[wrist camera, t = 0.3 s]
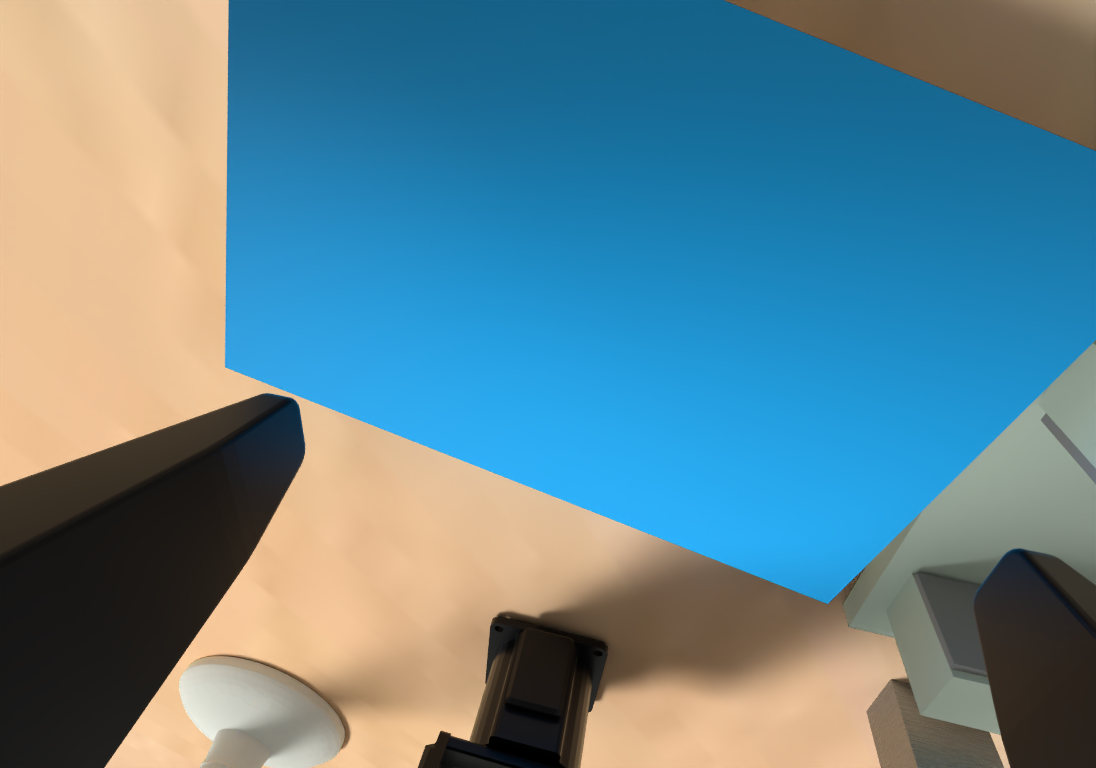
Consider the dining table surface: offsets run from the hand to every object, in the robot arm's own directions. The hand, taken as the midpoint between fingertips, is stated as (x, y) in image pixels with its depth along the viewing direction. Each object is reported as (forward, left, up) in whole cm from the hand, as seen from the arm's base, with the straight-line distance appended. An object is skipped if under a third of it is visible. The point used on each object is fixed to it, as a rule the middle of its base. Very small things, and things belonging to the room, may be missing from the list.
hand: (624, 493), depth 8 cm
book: (-3, +1, -15) cm, 15 cm away
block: (-23, -18, -14) cm, 32 cm away
